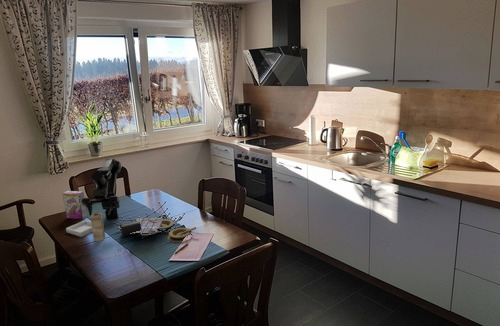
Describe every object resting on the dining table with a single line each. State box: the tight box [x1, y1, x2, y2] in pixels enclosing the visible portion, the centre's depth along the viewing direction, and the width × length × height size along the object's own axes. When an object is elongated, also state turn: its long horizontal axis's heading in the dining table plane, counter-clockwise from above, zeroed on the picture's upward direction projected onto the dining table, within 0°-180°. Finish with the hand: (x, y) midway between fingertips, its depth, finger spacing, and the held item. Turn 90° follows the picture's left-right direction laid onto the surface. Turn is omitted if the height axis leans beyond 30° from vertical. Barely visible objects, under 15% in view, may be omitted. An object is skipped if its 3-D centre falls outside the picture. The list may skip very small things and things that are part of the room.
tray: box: [65, 219, 93, 238], centre depth 212 cm, size 13×13×2 cm
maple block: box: [89, 212, 106, 242], centre depth 199 cm, size 4×4×14 cm
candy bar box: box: [62, 190, 88, 220], centre depth 229 cm, size 11×5×16 cm, turn 80°
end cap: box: [119, 220, 142, 238], centre depth 204 cm, size 10×7×7 cm
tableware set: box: [147, 218, 197, 243], centre depth 206 cm, size 30×20×6 cm, turn 44°
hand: (99, 215), depth 203 cm, fingers open, 9 cm apart
